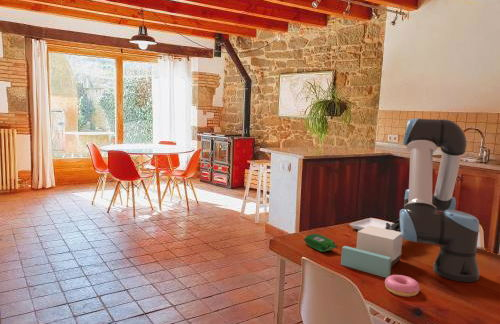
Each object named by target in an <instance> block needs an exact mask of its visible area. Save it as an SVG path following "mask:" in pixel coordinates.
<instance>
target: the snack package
mask: <svg viewBox="0 0 500 324" xmlns="http://www.w3.org/2000/svg"><path fill="white" fill-rule="evenodd" d="M303 240H304V242H305V243H306V244H307V246H309V247H310V248H312V249H315V250H317V251H319V252H321V253H324V252H329V251H331V250H333V249H338V245H336V244H335V242H334V241H333V239H331V238H328V237H326V236H324V235H323V234H319V233H311V234H307V235H306V236H305V237H304V239H303Z"/></svg>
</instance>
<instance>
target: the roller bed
mask: <svg viewBox="0 0 500 324" xmlns="http://www.w3.org/2000/svg"><path fill="white" fill-rule="evenodd" d="M400 261H401V255H399V256H398V257H397V258H396V259H395V260H394V261H392V262H391V268H390V269H392V268H393V266H395V265H396V264H398V262H400Z"/></svg>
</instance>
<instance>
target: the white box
mask: <svg viewBox="0 0 500 324" xmlns="http://www.w3.org/2000/svg"><path fill="white" fill-rule="evenodd" d="M402 247H403V237H402V235H401V232H397V231H393V230H388V229H383V228H379V227H374V226H367V227H365V228H363V229H362V230H360V231H359V230H357V236H356V246H355V248H356V249H360V250H364V251H368V252H372V253H375V254H379V255H383V256H387V257H391V262H392V261H394V260H395V259H396V258H397V257H398V256H399V255H400V256H401V255H402Z"/></svg>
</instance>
